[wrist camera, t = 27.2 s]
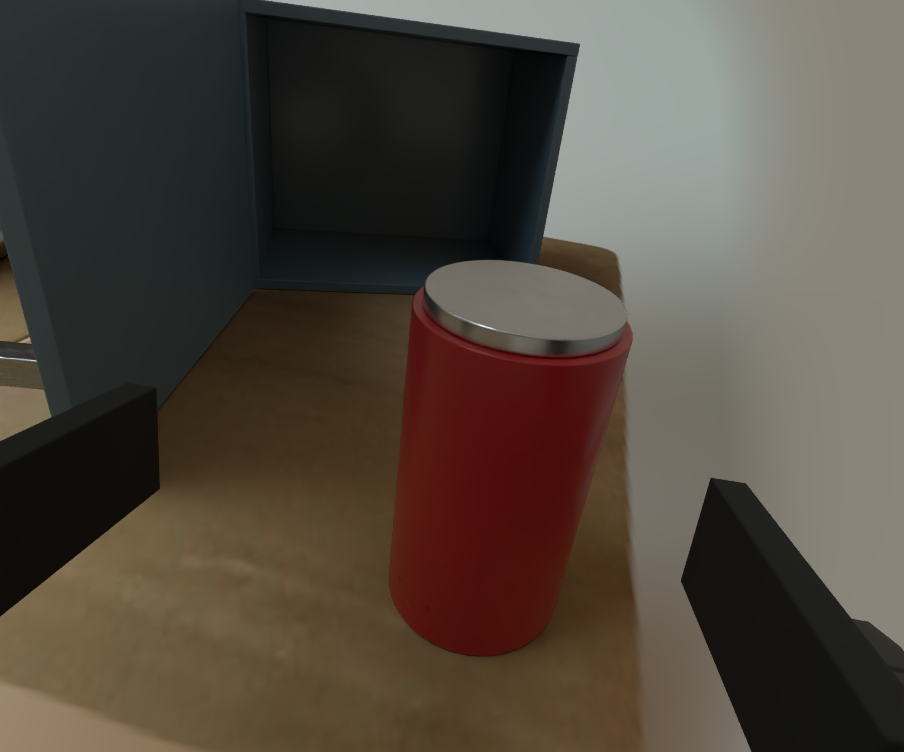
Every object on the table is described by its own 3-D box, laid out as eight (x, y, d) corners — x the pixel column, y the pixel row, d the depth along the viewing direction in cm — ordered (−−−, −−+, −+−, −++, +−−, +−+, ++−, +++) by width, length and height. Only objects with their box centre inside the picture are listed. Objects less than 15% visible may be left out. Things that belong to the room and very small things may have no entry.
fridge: (531, 299, 51) (580, 43, 41) (249, 288, 46) (231, -5, 37) (491, 246, 64) (521, 41, 54) (266, 233, 59) (256, 5, 49)
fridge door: (-58, 478, 24) (-293, -103, 15) (173, 282, 45) (135, -15, 36) (93, 490, 25) (-44, -70, 15) (254, 290, 45) (237, -2, 36)
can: (366, 541, 24) (382, 260, 18) (502, 508, 27) (554, 253, 21) (428, 682, 19) (478, 356, 13) (588, 622, 22) (689, 330, 16)
